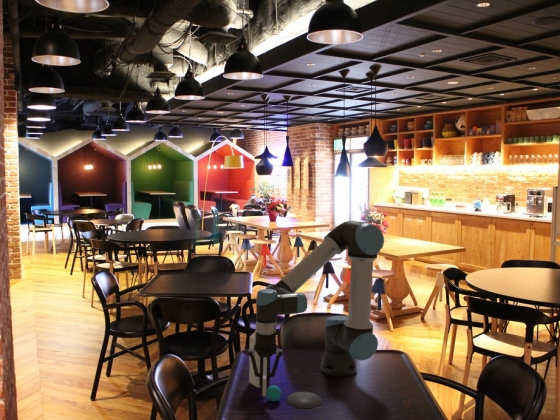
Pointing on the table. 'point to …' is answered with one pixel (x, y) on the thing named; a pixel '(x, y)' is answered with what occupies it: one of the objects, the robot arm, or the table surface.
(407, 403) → the table surface
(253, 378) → the milk
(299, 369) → the table surface
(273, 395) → the ball
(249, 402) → the table surface
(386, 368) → the table surface
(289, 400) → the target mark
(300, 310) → the robot arm
